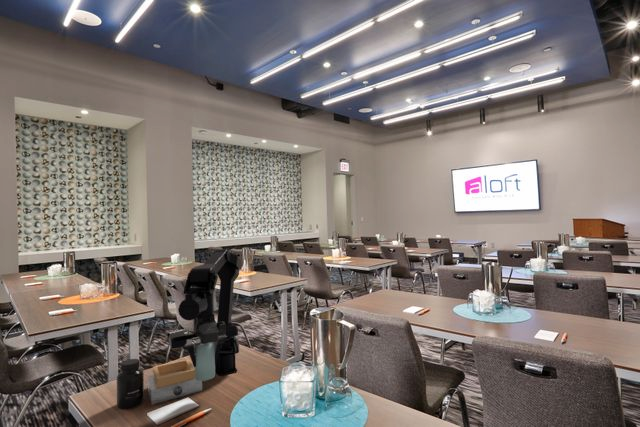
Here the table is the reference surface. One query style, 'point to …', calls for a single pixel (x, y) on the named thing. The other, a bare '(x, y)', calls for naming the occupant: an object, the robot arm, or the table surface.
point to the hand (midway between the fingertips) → (205, 364)
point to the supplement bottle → (130, 385)
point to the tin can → (204, 361)
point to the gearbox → (172, 381)
